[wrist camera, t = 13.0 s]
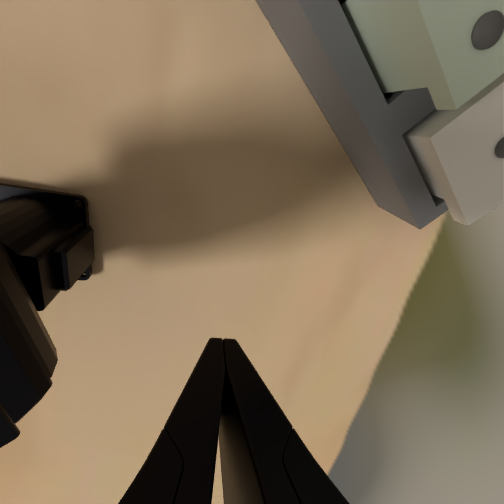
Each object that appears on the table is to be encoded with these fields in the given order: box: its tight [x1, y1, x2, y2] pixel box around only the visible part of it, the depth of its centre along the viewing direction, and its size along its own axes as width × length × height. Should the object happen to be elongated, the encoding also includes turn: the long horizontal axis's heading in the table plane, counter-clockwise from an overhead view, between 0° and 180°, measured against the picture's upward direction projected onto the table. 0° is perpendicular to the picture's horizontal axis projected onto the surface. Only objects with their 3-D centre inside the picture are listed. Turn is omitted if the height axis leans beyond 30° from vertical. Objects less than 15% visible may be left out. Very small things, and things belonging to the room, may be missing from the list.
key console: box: [256, 0, 449, 229], centre depth 14 cm, size 8×21×5 cm, turn 39°
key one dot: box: [402, 73, 504, 226], centre depth 16 cm, size 6×6×7 cm
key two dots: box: [341, 0, 504, 110], centre depth 11 cm, size 6×6×7 cm
